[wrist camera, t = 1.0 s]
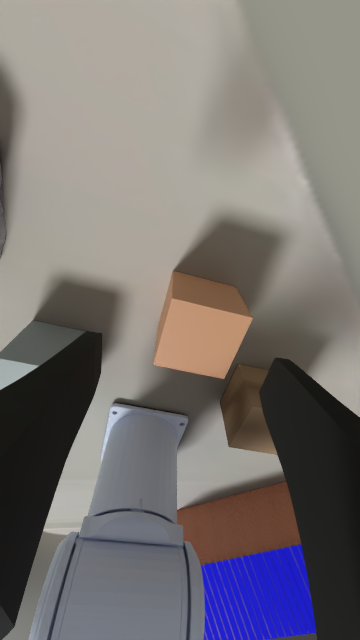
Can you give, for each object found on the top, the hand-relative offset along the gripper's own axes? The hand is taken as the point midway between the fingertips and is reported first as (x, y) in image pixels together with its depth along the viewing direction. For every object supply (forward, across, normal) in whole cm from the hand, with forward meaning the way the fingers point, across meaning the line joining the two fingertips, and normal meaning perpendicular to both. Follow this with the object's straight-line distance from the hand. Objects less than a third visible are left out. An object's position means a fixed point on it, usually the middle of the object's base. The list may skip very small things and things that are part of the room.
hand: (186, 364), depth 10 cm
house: (+10, -17, +33) cm, 38 cm away
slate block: (+10, +9, +8) cm, 16 cm away
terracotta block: (+10, -1, +2) cm, 10 cm away
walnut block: (+10, -9, +10) cm, 16 cm away
